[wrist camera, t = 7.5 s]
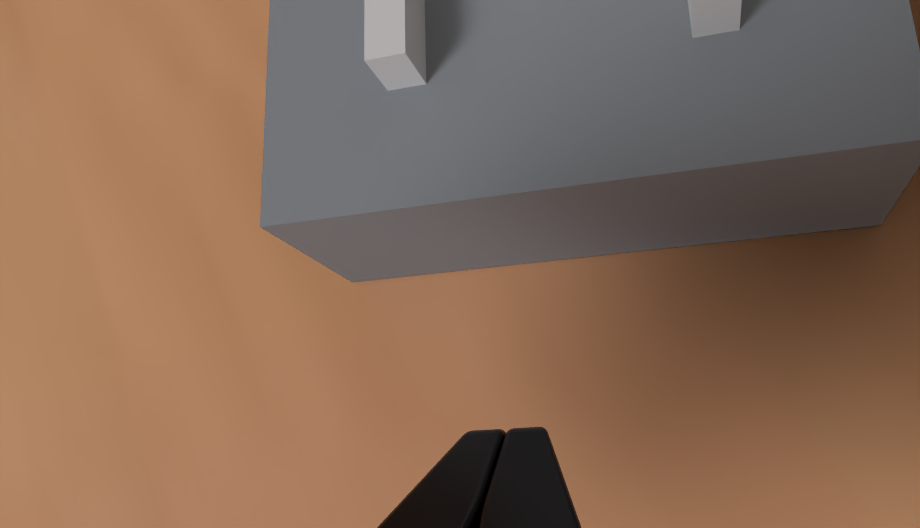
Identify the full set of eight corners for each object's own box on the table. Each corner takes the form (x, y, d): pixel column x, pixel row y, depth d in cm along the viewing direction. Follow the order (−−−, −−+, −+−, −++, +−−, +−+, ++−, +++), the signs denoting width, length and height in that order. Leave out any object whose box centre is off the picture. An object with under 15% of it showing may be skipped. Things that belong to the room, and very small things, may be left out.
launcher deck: (880, 224, 17) (960, 103, 12) (352, 282, 20) (227, 206, 15) (821, -93, 19) (866, -315, 14) (354, 3, 22) (246, -149, 17)
